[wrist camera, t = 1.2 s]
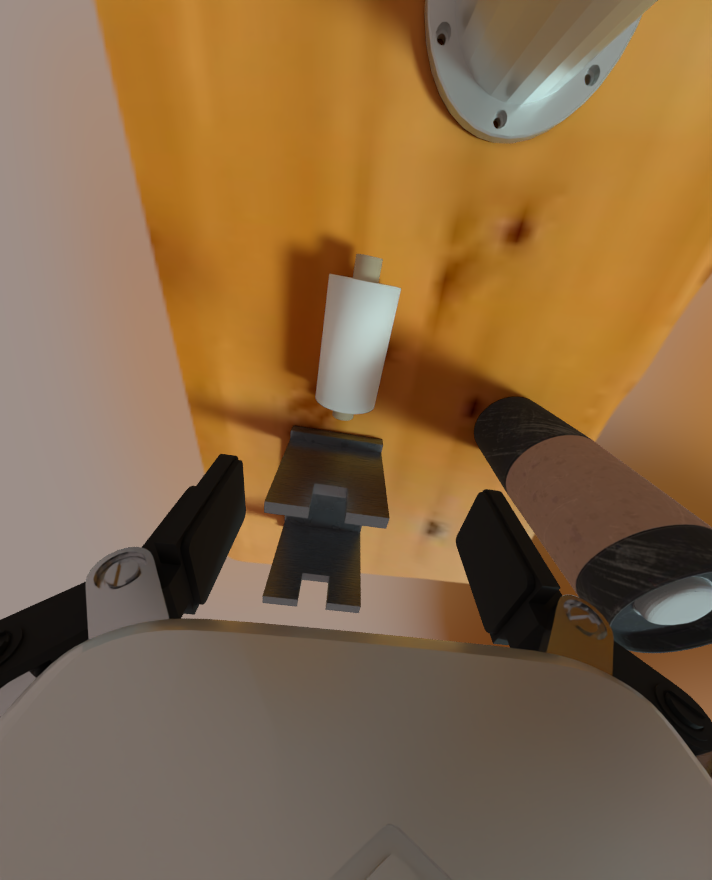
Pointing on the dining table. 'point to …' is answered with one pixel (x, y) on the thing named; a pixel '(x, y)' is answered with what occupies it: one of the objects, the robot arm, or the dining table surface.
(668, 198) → the dining table surface
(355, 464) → the roll holder
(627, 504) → the travel mug
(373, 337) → the paper roll
